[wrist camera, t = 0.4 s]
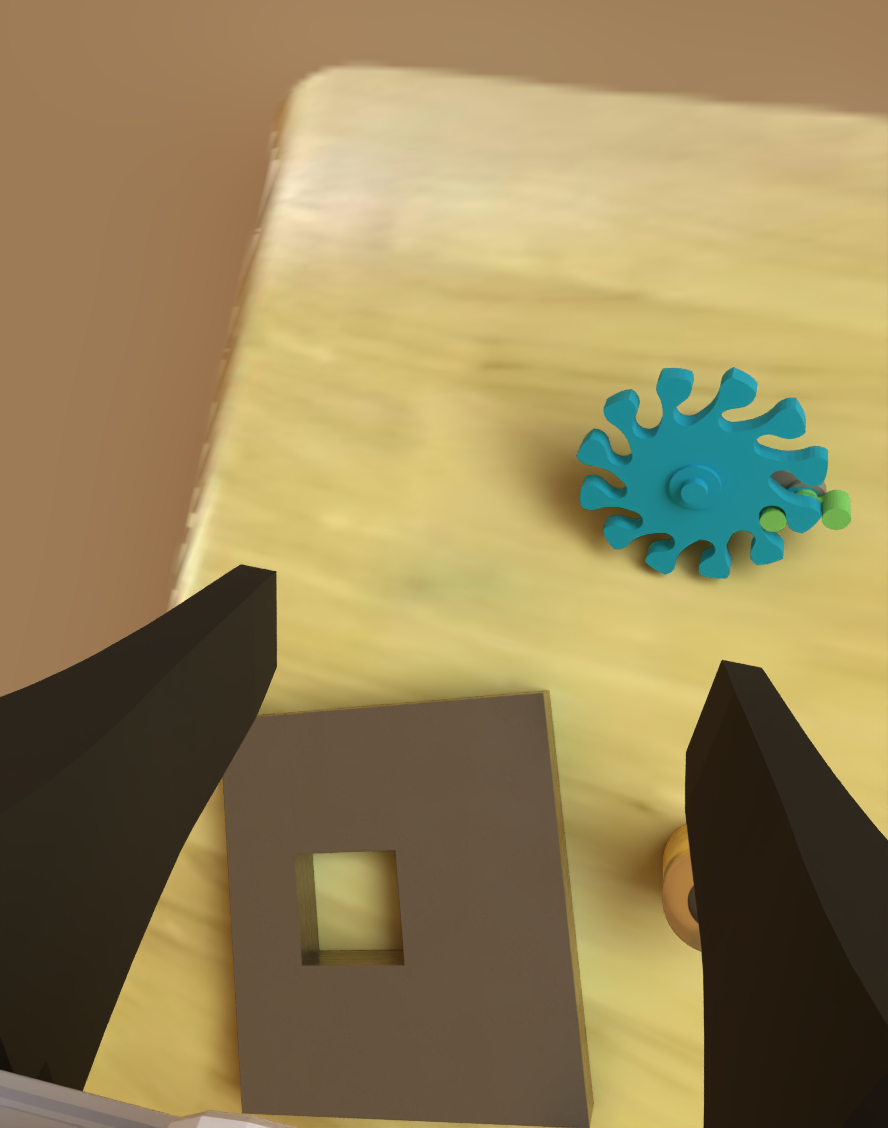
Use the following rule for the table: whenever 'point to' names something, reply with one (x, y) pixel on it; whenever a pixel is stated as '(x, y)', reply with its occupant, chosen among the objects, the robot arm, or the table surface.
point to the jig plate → (409, 917)
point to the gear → (709, 475)
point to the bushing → (680, 889)
